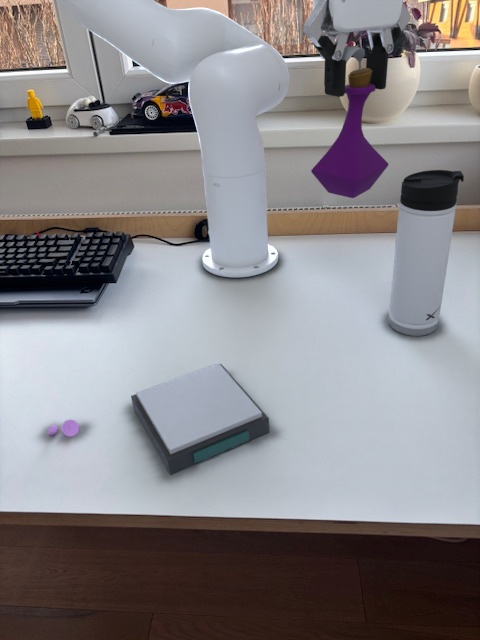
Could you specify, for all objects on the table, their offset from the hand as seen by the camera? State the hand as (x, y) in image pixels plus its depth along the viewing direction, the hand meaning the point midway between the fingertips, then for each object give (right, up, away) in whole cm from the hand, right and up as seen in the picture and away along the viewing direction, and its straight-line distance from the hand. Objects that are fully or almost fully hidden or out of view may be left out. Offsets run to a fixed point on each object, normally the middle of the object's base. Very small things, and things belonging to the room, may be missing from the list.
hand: (355, 90), depth 68 cm
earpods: (-33, -41, -10) cm, 53 cm away
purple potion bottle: (+1, -11, +7) cm, 13 cm away
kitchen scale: (-19, -39, -10) cm, 45 cm away
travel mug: (+9, -29, +4) cm, 31 cm away
